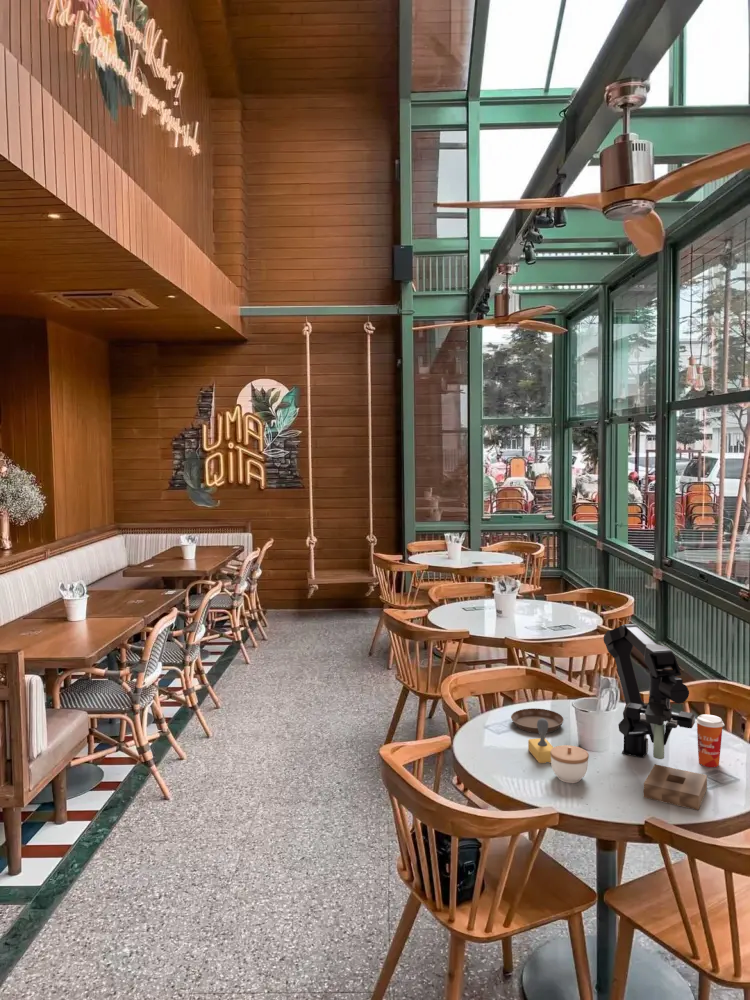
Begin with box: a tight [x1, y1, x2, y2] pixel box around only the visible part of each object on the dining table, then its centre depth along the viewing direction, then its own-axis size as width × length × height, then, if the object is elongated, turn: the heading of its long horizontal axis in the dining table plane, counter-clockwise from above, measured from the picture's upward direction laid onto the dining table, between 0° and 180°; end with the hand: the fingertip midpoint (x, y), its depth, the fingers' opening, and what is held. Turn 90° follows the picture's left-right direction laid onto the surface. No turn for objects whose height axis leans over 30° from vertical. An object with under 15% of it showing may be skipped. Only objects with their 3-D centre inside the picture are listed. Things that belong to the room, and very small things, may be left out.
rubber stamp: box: [527, 718, 555, 764], centre depth 232 cm, size 10×6×12 cm, turn 7°
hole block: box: [643, 763, 708, 811], centre depth 206 cm, size 14×14×4 cm
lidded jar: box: [550, 744, 590, 784], centre depth 216 cm, size 11×11×9 cm
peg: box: [652, 723, 666, 760], centre depth 219 cm, size 3×3×10 cm
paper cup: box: [695, 713, 725, 768], centre depth 224 cm, size 8×8×14 cm
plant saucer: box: [510, 707, 565, 734], centre depth 257 cm, size 18×18×3 cm
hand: (658, 743), depth 220 cm, fingers closed on peg, 3 cm apart
